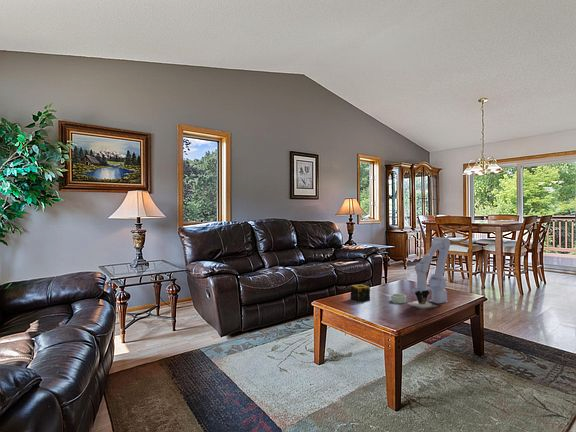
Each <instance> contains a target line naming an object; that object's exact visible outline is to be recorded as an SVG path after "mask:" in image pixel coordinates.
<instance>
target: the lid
mask: <svg viewBox="0 0 576 432" xmlns="http://www.w3.org/2000/svg"><path fill="white" fill-rule="evenodd" d="M412 304H413V305H415V306H419V307H429V308H432V307H431V306H432V304H433V303H432V302H430V301H426V302H425V297H422V300H421V303H419V302H418V300H415V301H412ZM413 305H412V306H413ZM415 306H414V307H415Z"/></svg>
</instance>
